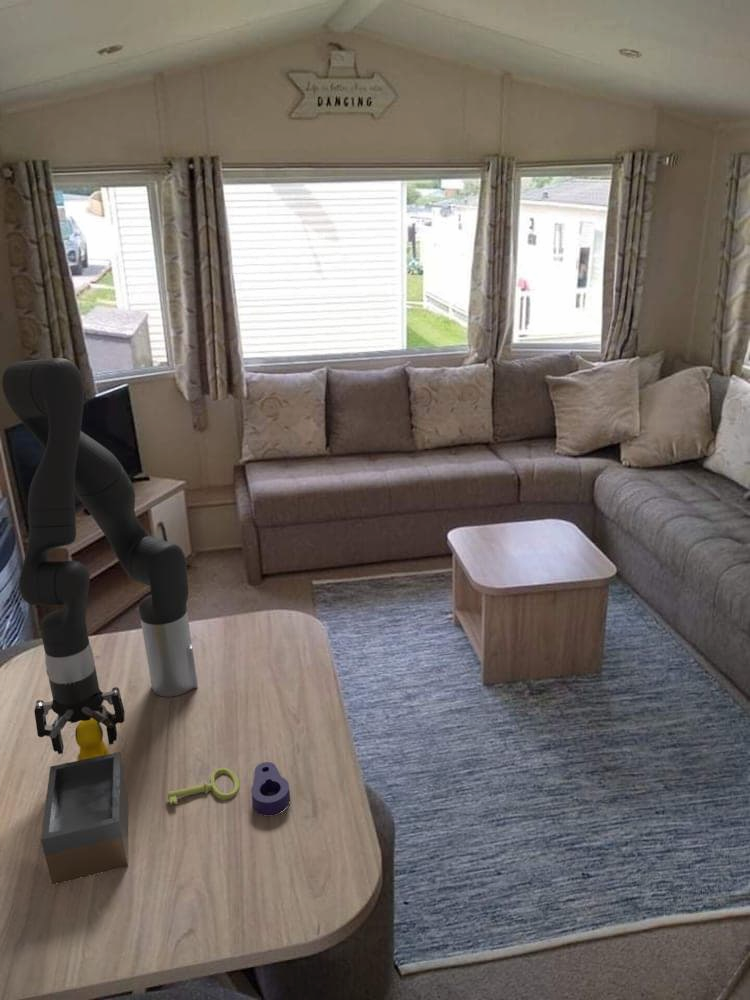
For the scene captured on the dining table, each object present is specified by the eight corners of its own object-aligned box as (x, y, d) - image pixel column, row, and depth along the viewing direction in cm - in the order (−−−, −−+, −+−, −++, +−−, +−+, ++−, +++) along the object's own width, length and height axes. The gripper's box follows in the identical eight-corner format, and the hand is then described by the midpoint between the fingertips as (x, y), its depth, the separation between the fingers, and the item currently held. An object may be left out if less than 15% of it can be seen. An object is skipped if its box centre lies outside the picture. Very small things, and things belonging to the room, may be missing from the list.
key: (164, 802, 131) (163, 792, 130) (228, 769, 138) (226, 759, 138) (184, 827, 126) (182, 817, 125) (248, 791, 133) (247, 781, 132)
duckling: (79, 753, 143) (69, 709, 139) (109, 745, 144) (100, 702, 141) (81, 795, 133) (71, 748, 129) (113, 786, 135) (104, 740, 131)
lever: (293, 812, 128) (291, 797, 127) (255, 820, 127) (253, 806, 125) (282, 764, 139) (280, 750, 138) (247, 771, 137) (245, 757, 136)
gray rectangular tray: (128, 793, 133) (119, 751, 129) (128, 866, 118) (119, 821, 115) (60, 809, 130) (50, 766, 126) (52, 885, 116) (40, 839, 112)
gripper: (116, 650, 135) (128, 726, 141) (29, 663, 132) (46, 740, 138) (114, 674, 128) (127, 752, 134) (23, 688, 125) (40, 768, 131)
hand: (86, 746), depth 136 cm, fingers open, 8 cm apart
